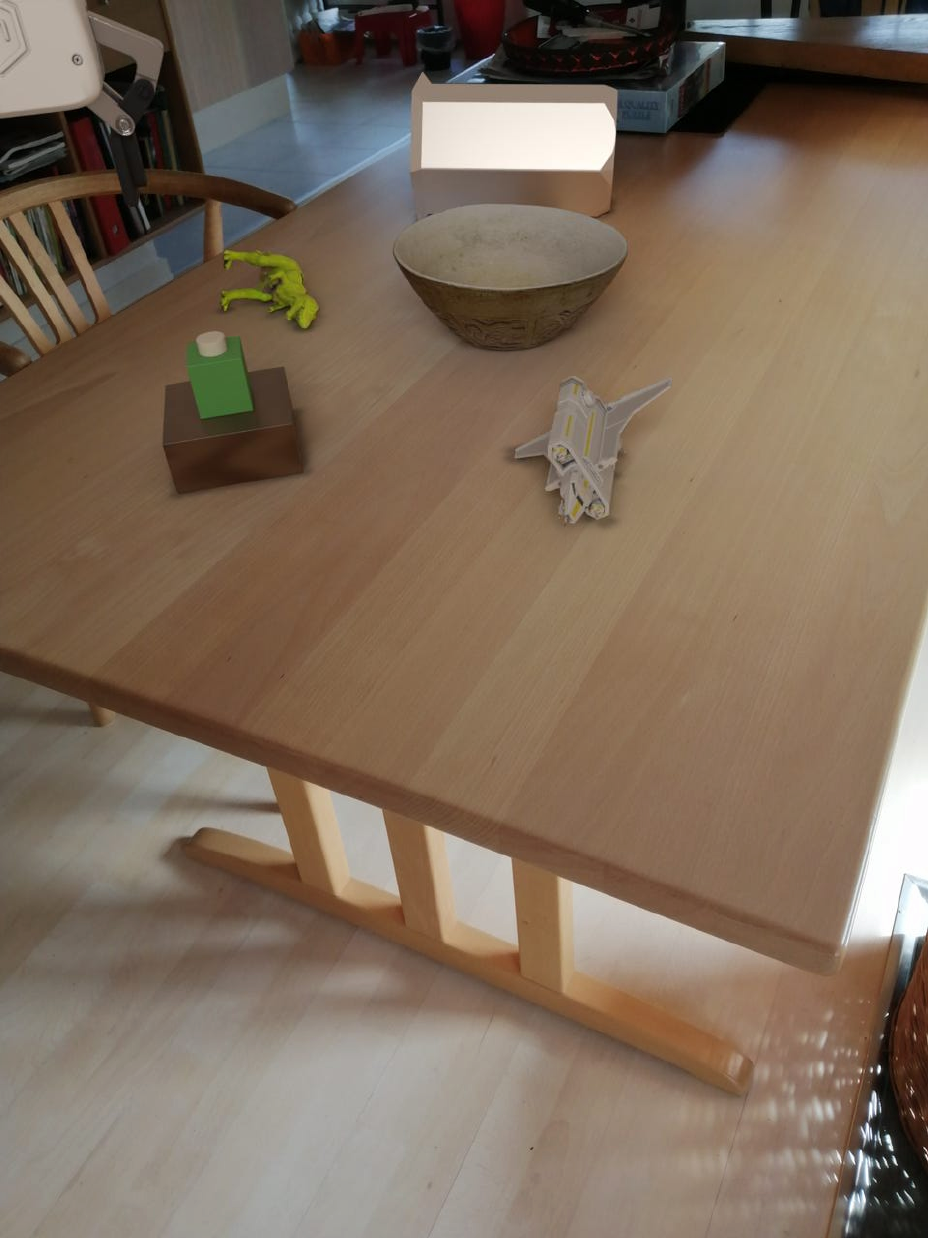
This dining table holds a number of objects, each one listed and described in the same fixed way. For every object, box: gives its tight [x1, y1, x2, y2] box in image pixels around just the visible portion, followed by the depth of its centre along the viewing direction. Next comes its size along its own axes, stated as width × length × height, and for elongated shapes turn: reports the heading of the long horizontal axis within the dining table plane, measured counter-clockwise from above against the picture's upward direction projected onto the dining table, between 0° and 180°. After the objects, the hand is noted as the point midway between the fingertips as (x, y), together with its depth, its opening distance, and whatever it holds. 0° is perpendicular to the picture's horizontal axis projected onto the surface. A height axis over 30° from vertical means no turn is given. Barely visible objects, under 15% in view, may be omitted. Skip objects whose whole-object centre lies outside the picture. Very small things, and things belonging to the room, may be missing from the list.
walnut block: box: [162, 366, 303, 494], centre depth 90 cm, size 11×11×5 cm
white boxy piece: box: [409, 71, 619, 221], centre depth 130 cm, size 25×16×19 cm, turn 84°
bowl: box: [392, 204, 629, 351], centre depth 104 cm, size 24×24×10 cm
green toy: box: [186, 330, 254, 419], centre depth 87 cm, size 5×5×6 cm
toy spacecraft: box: [514, 374, 673, 528], centre depth 80 cm, size 8×15×15 cm
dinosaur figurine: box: [219, 249, 320, 329], centre depth 115 cm, size 20×10×6 cm, turn 35°
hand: (54, 210), depth 62 cm, fingers open, 9 cm apart
